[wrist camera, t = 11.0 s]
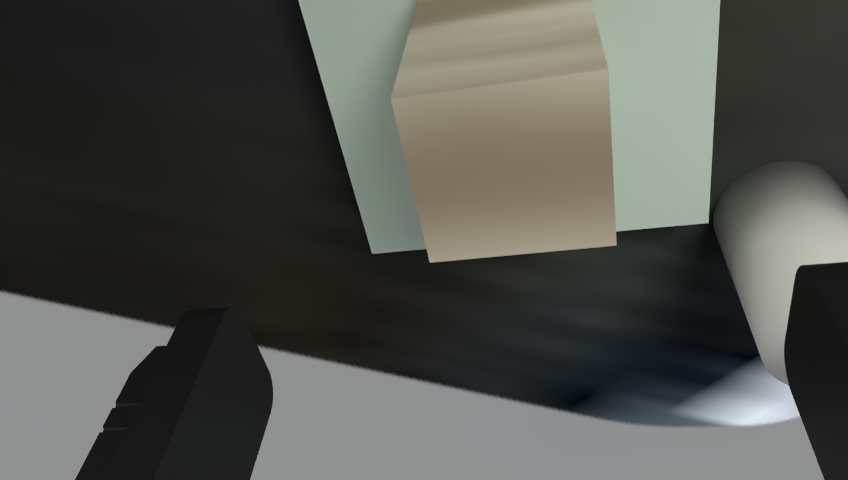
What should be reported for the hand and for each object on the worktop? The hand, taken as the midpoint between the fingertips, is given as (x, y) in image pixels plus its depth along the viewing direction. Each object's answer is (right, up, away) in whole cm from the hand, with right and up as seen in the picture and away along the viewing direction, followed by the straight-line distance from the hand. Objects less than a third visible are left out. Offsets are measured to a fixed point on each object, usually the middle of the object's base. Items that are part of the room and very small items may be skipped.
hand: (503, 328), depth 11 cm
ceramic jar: (+11, +2, +14) cm, 17 cm away
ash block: (+1, +7, +9) cm, 12 cm away
